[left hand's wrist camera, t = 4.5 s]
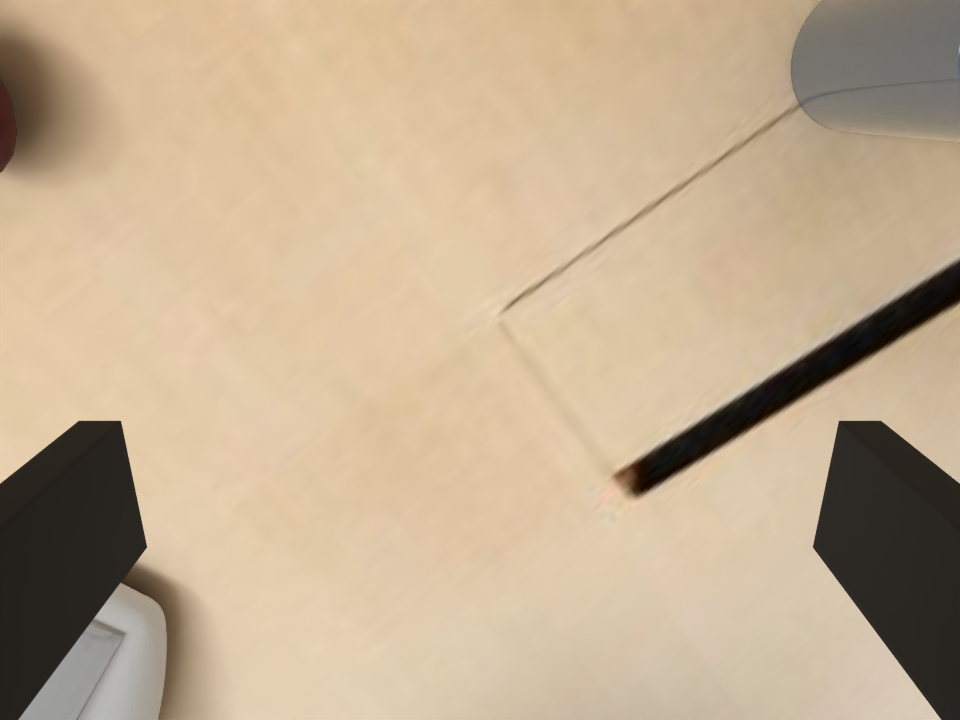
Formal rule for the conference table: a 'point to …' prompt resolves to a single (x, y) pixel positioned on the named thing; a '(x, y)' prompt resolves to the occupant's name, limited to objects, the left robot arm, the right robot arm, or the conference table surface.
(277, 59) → the conference table surface
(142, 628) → the projector
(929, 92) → the bottle
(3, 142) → the dark maroon ball
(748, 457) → the conference table surface
